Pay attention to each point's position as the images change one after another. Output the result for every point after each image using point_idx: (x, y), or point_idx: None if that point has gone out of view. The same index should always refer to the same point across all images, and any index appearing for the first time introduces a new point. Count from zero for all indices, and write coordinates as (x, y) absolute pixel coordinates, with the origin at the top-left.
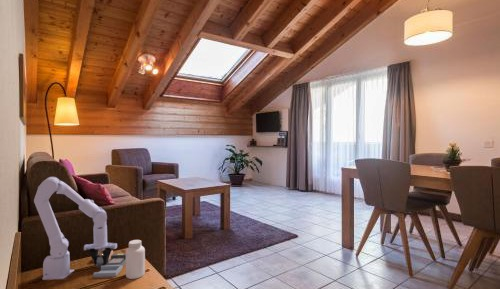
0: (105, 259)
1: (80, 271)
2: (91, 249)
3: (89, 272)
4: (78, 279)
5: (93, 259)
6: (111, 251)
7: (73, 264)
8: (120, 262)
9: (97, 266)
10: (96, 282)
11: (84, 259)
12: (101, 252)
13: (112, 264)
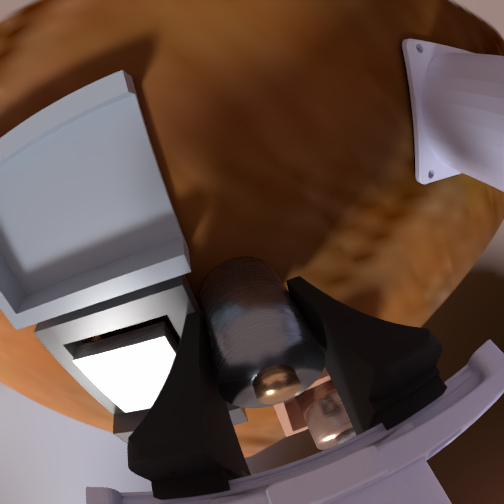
0: (184, 351)
1: (369, 178)
2: (425, 393)
3: (275, 172)
4: (276, 22)
5: (330, 304)
6: (287, 429)
7: (445, 261)
8: (80, 363)
9: (255, 268)
10: (39, 26)
11: (414, 324)
12: (335, 404)
13: (120, 328)
